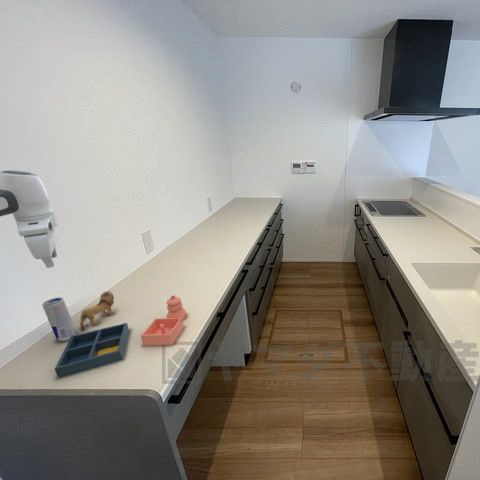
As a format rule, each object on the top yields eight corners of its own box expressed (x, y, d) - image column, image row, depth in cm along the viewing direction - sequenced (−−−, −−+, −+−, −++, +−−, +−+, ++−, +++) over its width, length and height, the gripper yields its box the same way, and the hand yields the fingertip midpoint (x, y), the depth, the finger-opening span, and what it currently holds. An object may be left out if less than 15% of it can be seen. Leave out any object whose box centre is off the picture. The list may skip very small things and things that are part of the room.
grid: (58, 378, 76) (54, 369, 75) (74, 344, 89) (71, 335, 88) (122, 359, 83) (119, 351, 82) (129, 330, 96) (126, 322, 95)
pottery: (172, 344, 89) (166, 321, 86) (143, 345, 89) (136, 321, 85) (193, 312, 106) (189, 291, 103) (169, 313, 106) (164, 292, 102)
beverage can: (73, 330, 95) (59, 295, 90) (79, 335, 93) (65, 299, 87) (54, 339, 91) (39, 302, 86) (60, 344, 89) (44, 307, 83)
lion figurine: (109, 307, 108) (103, 288, 105) (121, 308, 108) (116, 289, 105) (75, 331, 95) (67, 310, 92) (89, 332, 94) (81, 311, 91)
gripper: (29, 216, 90) (43, 254, 94) (16, 232, 75) (34, 275, 80) (54, 214, 93) (67, 250, 98) (47, 228, 78) (62, 270, 83)
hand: (52, 261), depth 89 cm, fingers open, 8 cm apart
